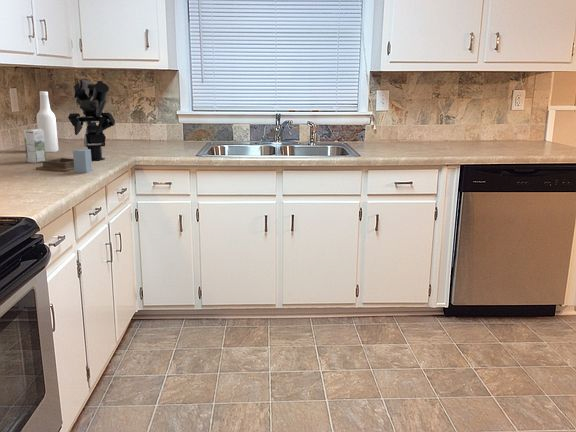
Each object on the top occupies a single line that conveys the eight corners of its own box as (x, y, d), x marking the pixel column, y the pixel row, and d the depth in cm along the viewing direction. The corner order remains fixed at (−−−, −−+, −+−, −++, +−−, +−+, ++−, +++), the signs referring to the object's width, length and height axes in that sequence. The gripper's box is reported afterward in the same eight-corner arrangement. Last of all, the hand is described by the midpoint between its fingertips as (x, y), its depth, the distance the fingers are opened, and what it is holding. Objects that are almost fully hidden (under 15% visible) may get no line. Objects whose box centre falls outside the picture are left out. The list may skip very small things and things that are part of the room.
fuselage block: (80, 170, 212) (78, 148, 210) (92, 170, 212) (90, 149, 209) (74, 172, 207) (72, 150, 205) (86, 173, 207) (84, 150, 205)
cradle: (61, 164, 226) (60, 156, 225) (90, 166, 222) (89, 159, 221) (35, 169, 212) (34, 161, 211) (65, 171, 208) (64, 164, 207)
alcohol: (46, 153, 258) (40, 91, 250) (36, 151, 262) (30, 91, 255) (62, 151, 265) (56, 91, 257) (52, 149, 269) (46, 91, 262)
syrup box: (36, 160, 234) (33, 128, 231) (46, 161, 232) (43, 129, 229) (26, 162, 229) (23, 129, 226) (36, 163, 227) (33, 130, 223)
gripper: (67, 94, 216) (55, 121, 208) (109, 92, 214) (99, 120, 205) (79, 113, 225) (68, 139, 217) (119, 112, 223) (110, 138, 214)
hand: (86, 134), depth 213 cm, fingers open, 9 cm apart
